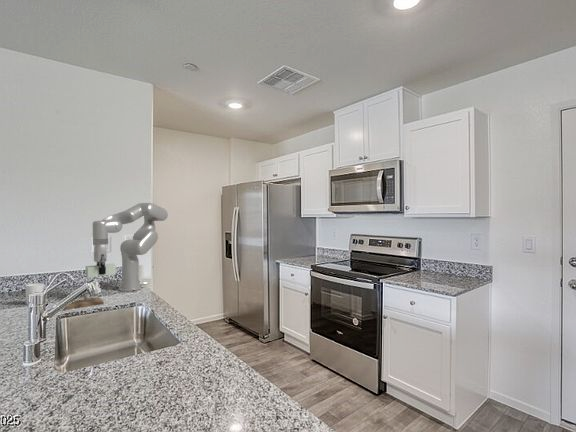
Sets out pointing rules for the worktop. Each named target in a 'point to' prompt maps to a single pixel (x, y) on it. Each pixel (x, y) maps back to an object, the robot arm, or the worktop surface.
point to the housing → (94, 270)
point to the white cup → (33, 289)
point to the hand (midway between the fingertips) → (101, 273)
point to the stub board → (84, 302)
